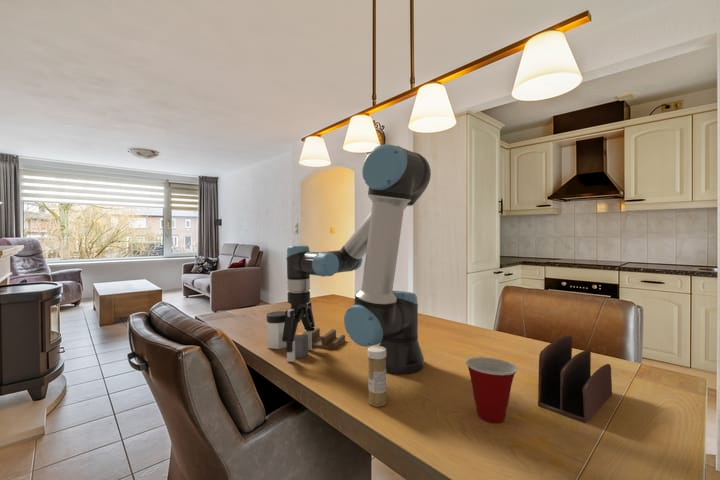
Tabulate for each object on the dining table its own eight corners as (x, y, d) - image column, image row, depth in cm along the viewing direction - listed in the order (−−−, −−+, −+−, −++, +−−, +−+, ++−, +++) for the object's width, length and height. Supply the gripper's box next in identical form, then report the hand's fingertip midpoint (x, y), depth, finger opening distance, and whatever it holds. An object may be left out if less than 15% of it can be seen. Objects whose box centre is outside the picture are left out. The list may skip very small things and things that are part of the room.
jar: (273, 351, 120) (272, 317, 120) (262, 345, 126) (261, 313, 126) (294, 345, 126) (294, 313, 126) (283, 340, 132) (282, 309, 132)
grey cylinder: (308, 354, 117) (307, 332, 116) (302, 358, 113) (302, 335, 113) (297, 353, 118) (297, 331, 118) (292, 357, 114) (291, 334, 114)
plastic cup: (524, 414, 76) (524, 361, 76) (508, 436, 68) (507, 377, 68) (477, 398, 84) (477, 350, 83) (457, 417, 76) (457, 364, 75)
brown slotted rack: (345, 340, 130) (344, 330, 130) (334, 349, 121) (334, 338, 121) (307, 337, 136) (307, 327, 135) (295, 345, 126) (295, 334, 126)
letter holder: (537, 406, 80) (537, 347, 79) (568, 382, 92) (568, 330, 92) (586, 424, 72) (586, 359, 72) (612, 395, 85) (612, 339, 85)
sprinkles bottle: (367, 398, 85) (366, 345, 84) (385, 397, 85) (384, 344, 85) (369, 408, 80) (368, 351, 80) (388, 407, 80) (387, 351, 80)
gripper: (305, 285, 127) (306, 343, 128) (269, 296, 105) (270, 366, 105) (323, 285, 125) (324, 345, 125) (290, 298, 102) (292, 369, 103)
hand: (300, 355), depth 115 cm, fingers open, 11 cm apart
